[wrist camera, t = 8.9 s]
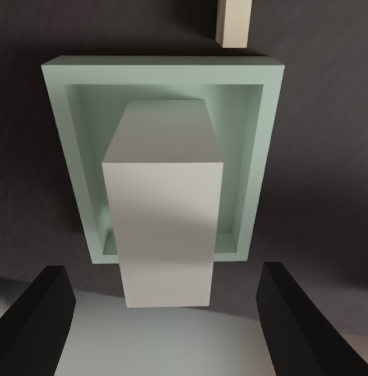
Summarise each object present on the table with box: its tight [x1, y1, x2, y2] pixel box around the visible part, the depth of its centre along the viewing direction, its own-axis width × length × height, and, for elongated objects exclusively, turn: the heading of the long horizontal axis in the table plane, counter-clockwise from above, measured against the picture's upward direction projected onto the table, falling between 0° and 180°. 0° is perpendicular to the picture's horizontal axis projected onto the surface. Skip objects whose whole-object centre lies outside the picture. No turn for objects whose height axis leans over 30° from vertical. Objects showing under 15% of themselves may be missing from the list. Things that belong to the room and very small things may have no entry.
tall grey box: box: [102, 100, 223, 308], centre depth 15 cm, size 9×4×7 cm, turn 179°
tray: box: [41, 56, 285, 264], centre depth 17 cm, size 13×11×2 cm
